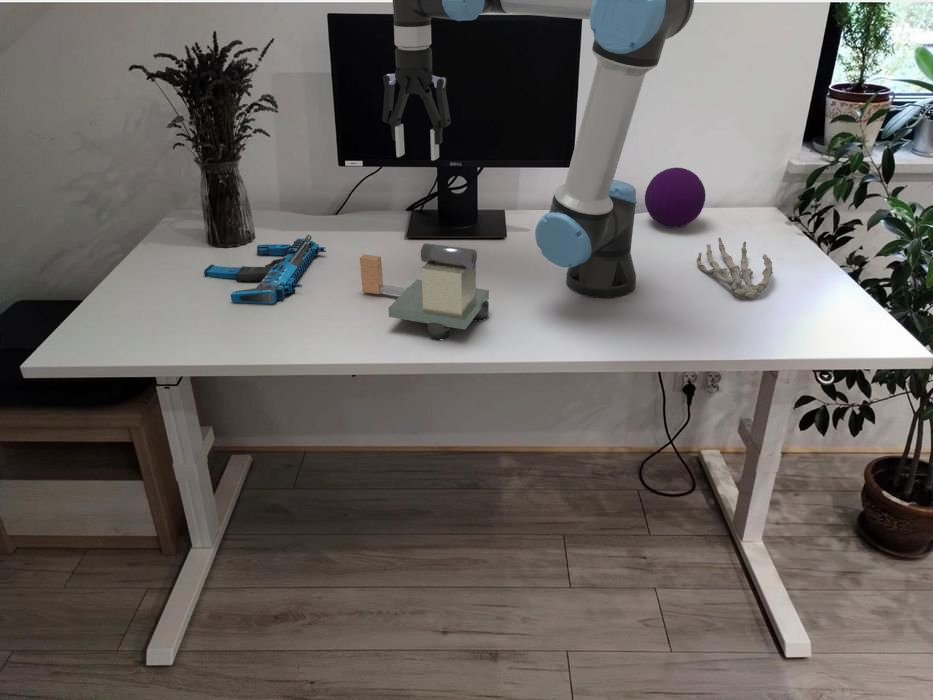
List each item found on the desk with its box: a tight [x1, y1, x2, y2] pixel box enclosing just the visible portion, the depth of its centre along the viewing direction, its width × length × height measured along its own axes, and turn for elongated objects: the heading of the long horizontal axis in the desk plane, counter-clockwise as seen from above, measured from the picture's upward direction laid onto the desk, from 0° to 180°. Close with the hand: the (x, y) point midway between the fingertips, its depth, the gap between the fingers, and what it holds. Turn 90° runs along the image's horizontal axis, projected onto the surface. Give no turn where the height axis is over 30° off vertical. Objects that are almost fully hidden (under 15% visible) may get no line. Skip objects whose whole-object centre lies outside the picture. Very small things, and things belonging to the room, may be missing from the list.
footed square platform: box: [387, 242, 490, 341], centre depth 155 cm, size 17×15×17 cm
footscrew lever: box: [359, 254, 410, 296], centre depth 167 cm, size 15×5×8 cm, turn 70°
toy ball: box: [644, 167, 706, 228], centre depth 201 cm, size 15×15×15 cm
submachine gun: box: [203, 234, 327, 305], centre depth 182 cm, size 34×4×25 cm
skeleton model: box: [696, 236, 773, 300], centre depth 176 cm, size 24×13×5 cm, turn 12°
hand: (417, 156), depth 173 cm, fingers open, 8 cm apart
